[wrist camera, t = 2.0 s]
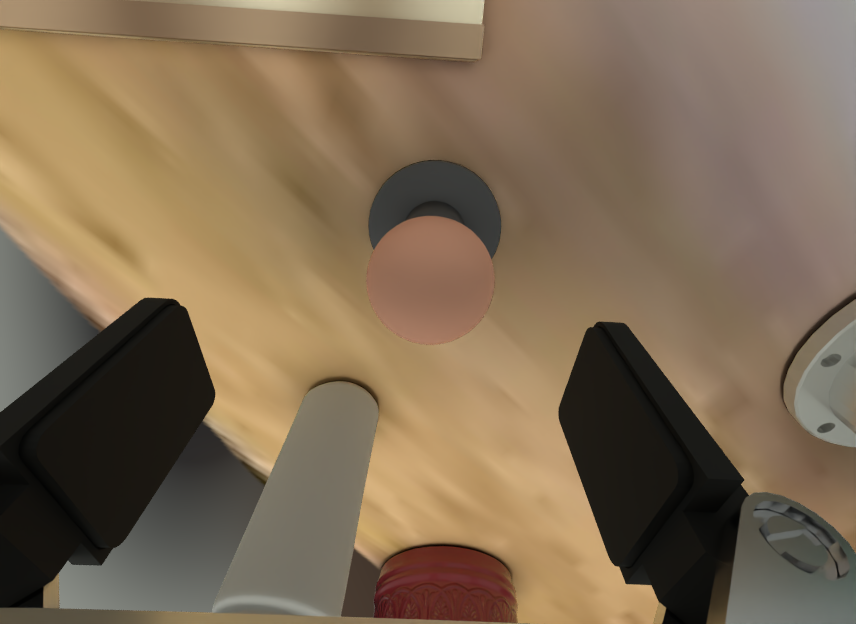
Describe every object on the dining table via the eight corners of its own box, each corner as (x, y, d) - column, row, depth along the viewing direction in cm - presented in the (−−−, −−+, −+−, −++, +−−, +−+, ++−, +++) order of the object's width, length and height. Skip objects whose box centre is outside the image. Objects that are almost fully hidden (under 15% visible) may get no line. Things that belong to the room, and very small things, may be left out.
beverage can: (291, 403, 24) (178, 642, 14) (334, 362, 22) (240, 607, 12) (350, 439, 26) (288, 676, 16) (396, 404, 24) (359, 650, 14)
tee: (510, 165, 16) (522, 182, 13) (489, 289, 19) (496, 323, 16) (368, 155, 16) (353, 170, 13) (371, 281, 19) (360, 313, 17)
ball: (496, 203, 14) (515, 252, 10) (480, 306, 16) (490, 376, 12) (376, 195, 14) (350, 240, 10) (378, 298, 16) (357, 366, 12)
